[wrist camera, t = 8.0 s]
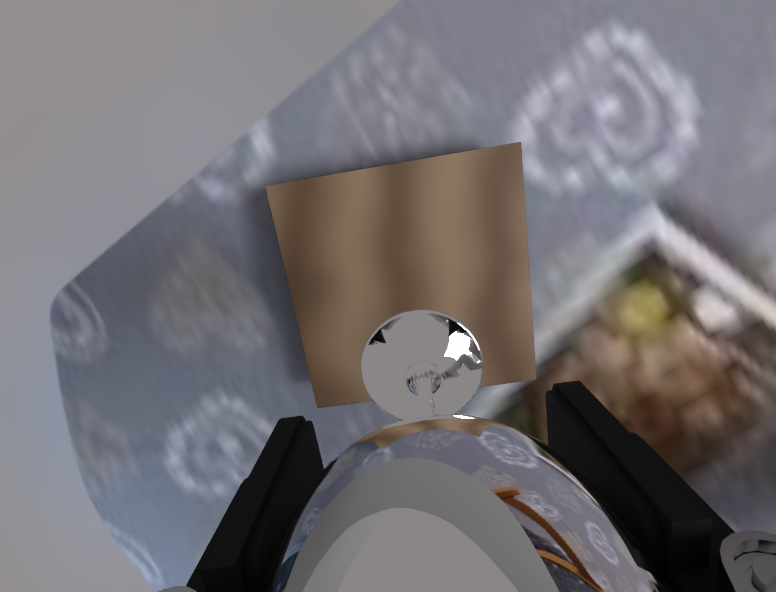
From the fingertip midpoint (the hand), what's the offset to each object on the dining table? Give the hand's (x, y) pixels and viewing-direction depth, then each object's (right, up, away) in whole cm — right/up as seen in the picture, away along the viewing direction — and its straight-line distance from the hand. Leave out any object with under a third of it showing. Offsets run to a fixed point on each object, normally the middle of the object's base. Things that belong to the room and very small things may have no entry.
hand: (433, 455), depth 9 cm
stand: (0, +6, +20) cm, 21 cm away
